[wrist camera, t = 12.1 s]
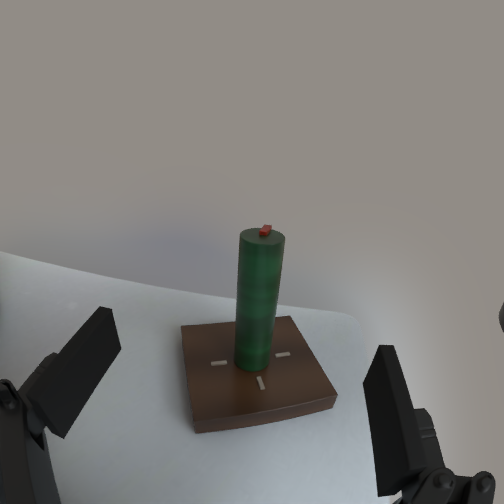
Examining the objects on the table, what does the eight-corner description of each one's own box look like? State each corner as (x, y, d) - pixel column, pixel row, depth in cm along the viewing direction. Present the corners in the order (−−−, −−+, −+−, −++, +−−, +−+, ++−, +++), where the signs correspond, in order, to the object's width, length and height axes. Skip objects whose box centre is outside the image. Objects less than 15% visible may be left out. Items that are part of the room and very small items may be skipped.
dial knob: (264, 375, 24) (280, 243, 19) (229, 366, 25) (233, 235, 20) (272, 352, 27) (289, 228, 22) (240, 344, 28) (247, 221, 23)
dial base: (332, 408, 23) (338, 393, 22) (195, 433, 20) (193, 420, 19) (287, 328, 34) (290, 314, 33) (182, 339, 31) (180, 324, 30)
